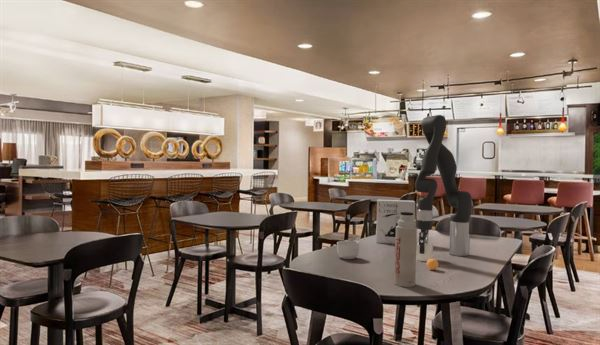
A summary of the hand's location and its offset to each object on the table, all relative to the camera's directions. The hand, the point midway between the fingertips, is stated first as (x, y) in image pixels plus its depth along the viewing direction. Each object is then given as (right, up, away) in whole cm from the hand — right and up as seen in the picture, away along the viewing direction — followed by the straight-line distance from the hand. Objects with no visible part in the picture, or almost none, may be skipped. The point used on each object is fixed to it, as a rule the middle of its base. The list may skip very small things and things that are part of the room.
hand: (423, 252), depth 222 cm
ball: (-2, -2, -21) cm, 21 cm away
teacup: (-37, -3, +1) cm, 37 cm away
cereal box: (-4, -3, +46) cm, 46 cm away
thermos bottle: (-20, -5, -46) cm, 50 cm away
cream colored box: (0, -4, 0) cm, 4 cm away
